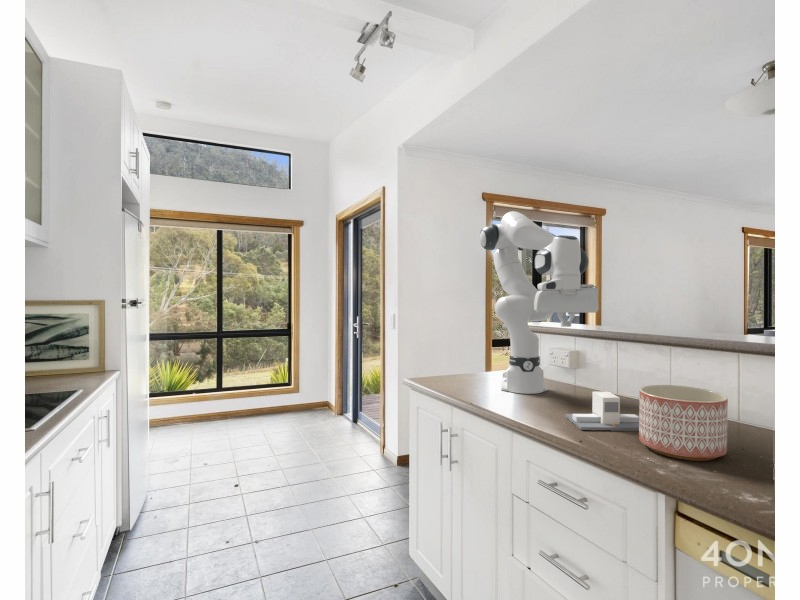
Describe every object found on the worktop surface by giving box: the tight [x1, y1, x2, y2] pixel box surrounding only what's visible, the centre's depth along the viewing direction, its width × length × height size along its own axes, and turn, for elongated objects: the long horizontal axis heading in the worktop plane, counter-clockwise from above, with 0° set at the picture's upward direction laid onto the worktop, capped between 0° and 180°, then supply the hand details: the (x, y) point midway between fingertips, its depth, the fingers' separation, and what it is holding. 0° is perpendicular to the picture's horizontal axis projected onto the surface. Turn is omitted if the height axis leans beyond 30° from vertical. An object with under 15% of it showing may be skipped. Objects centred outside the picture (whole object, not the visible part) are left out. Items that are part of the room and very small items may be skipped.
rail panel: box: [564, 413, 639, 432], centre depth 138 cm, size 14×20×2 cm
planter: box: [638, 384, 729, 462], centre depth 116 cm, size 19×19×15 cm
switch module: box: [591, 391, 621, 424], centre depth 138 cm, size 8×5×8 cm, turn 178°
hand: (565, 326), depth 148 cm, fingers closed
